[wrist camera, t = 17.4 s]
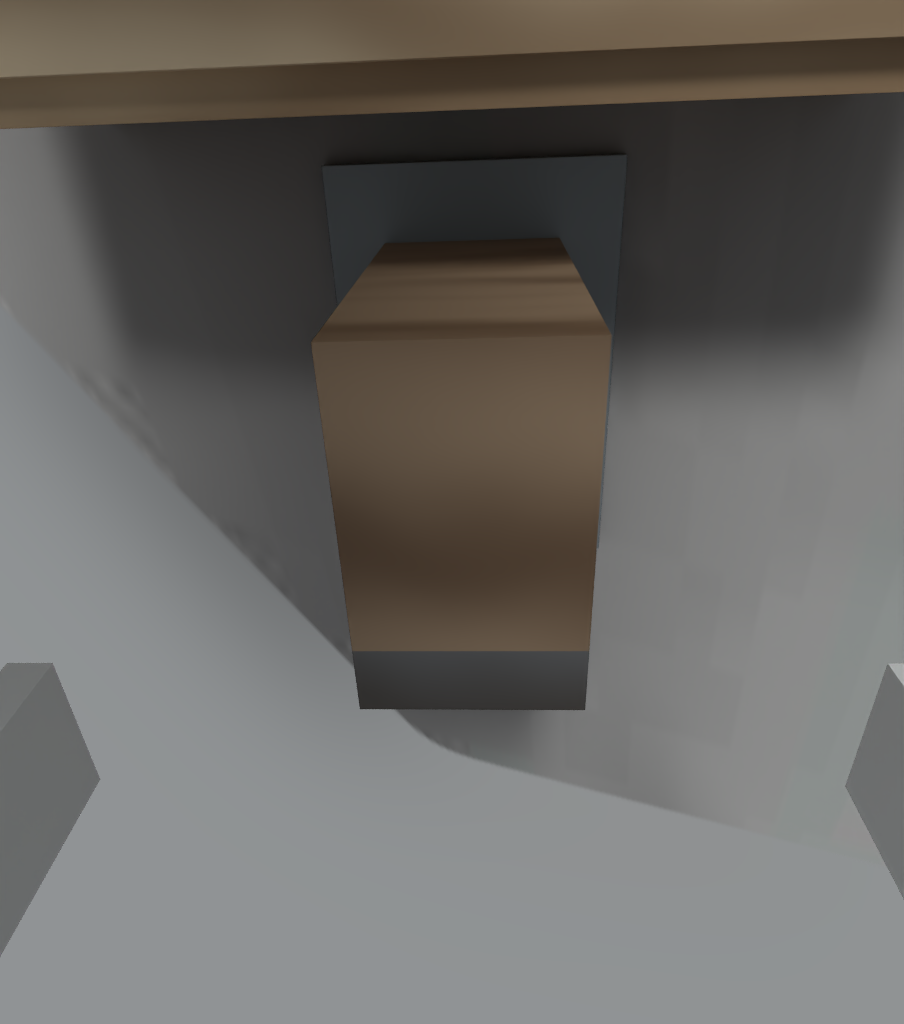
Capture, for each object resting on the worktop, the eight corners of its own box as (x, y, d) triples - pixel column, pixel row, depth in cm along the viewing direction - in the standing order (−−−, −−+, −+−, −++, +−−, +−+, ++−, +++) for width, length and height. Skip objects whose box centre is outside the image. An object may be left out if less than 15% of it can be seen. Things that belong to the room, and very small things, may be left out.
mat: (324, 165, 24) (321, 166, 24) (624, 154, 24) (627, 155, 23) (366, 543, 32) (364, 549, 31) (596, 542, 31) (598, 548, 31)
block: (384, 243, 25) (310, 342, 15) (559, 237, 25) (611, 335, 14) (404, 497, 30) (359, 708, 19) (550, 496, 30) (585, 709, 19)
